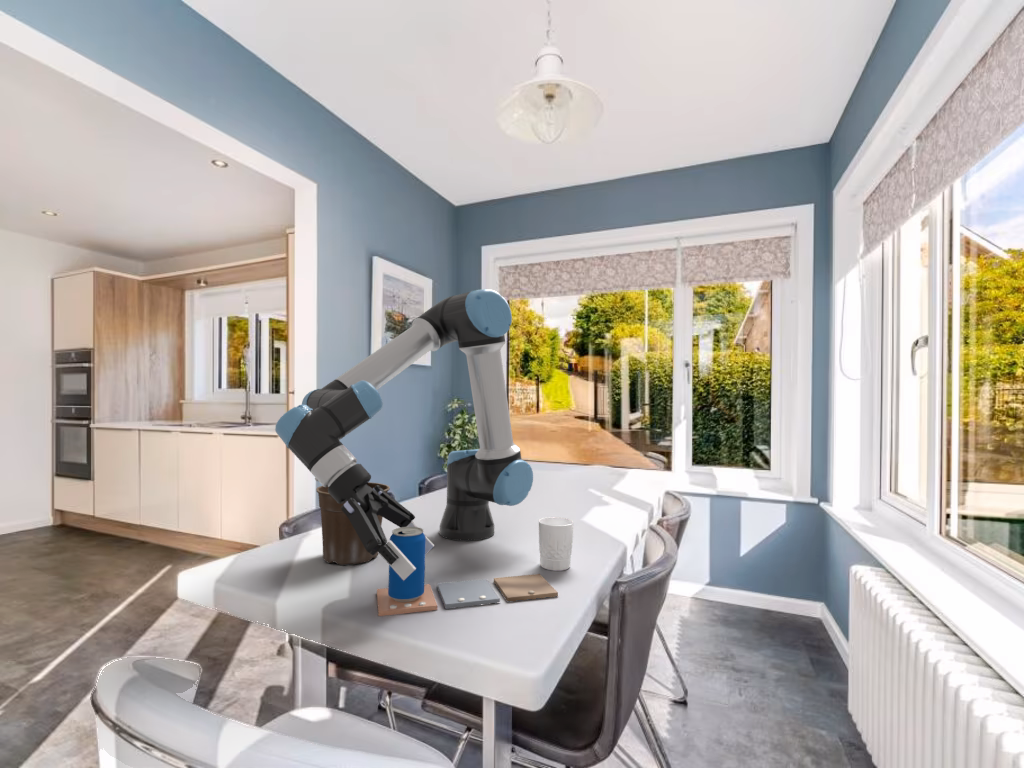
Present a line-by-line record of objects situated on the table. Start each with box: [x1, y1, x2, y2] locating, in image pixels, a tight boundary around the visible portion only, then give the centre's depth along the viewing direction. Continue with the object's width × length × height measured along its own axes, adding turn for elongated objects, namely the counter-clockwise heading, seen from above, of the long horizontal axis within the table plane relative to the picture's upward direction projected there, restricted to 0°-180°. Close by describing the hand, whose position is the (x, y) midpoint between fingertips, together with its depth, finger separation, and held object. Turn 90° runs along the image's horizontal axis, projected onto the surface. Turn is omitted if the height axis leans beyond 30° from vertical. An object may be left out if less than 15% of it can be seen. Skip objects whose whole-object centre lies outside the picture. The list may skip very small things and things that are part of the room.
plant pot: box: [315, 481, 391, 566], centre depth 113 cm, size 16×16×16 cm
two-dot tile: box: [436, 578, 501, 610], centre depth 92 cm, size 10×10×1 cm
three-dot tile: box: [376, 583, 438, 617], centre depth 89 cm, size 10×10×1 cm
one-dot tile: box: [493, 573, 559, 602], centre depth 96 cm, size 10×10×1 cm
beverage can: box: [387, 526, 427, 602], centre depth 89 cm, size 6×6×12 cm
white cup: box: [538, 516, 574, 572], centre depth 110 cm, size 8×8×10 cm
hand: (420, 561), depth 89 cm, fingers open, 12 cm apart
